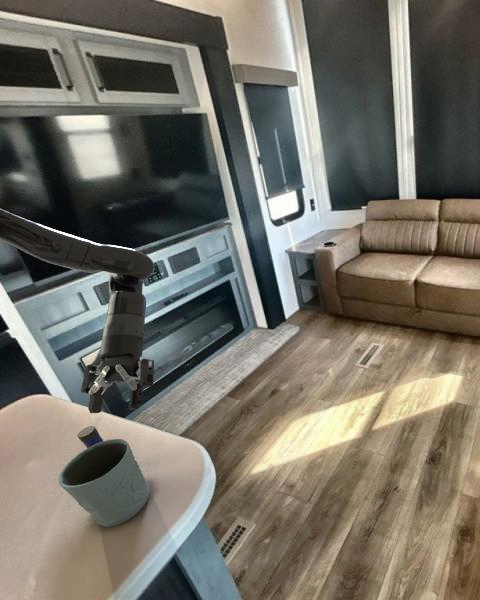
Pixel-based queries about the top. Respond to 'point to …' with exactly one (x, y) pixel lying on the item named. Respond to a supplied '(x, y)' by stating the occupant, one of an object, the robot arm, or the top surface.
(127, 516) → the grey-green cup
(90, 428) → the marker
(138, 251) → the robot arm
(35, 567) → the top surface
